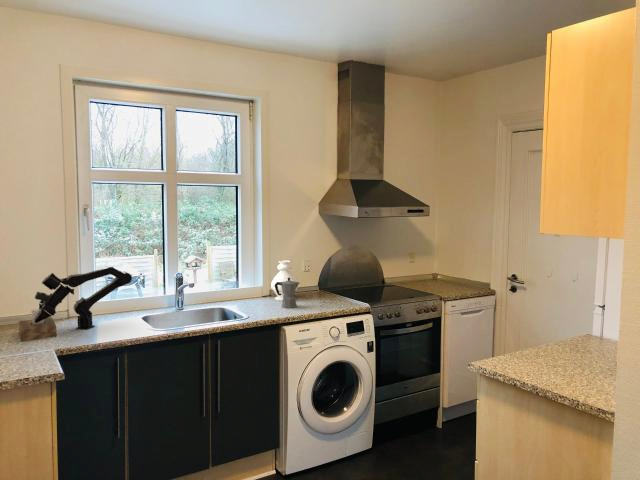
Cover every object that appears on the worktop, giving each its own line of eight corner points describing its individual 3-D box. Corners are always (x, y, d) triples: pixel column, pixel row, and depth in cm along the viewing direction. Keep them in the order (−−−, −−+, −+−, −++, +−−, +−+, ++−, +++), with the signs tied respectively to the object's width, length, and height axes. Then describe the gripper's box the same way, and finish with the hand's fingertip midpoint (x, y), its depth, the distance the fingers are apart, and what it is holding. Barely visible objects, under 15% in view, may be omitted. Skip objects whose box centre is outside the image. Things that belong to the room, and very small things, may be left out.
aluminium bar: (43, 328, 251) (42, 308, 250) (44, 330, 247) (43, 310, 246) (32, 329, 248) (31, 309, 247) (32, 332, 244) (31, 311, 243)
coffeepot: (298, 304, 312) (298, 276, 311) (301, 307, 303) (300, 278, 301) (273, 305, 309) (273, 277, 307) (275, 309, 300) (275, 279, 298)
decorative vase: (274, 295, 340) (273, 259, 338) (300, 296, 339) (299, 259, 336) (268, 301, 323) (268, 262, 321) (296, 301, 321) (295, 263, 319)
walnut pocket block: (52, 327, 260) (52, 317, 259) (56, 336, 243) (56, 325, 243) (18, 331, 252) (18, 321, 251) (20, 341, 235) (20, 330, 235)
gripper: (43, 283, 255) (19, 307, 250) (46, 288, 240) (21, 314, 235) (61, 296, 260) (38, 320, 255) (65, 302, 245) (41, 328, 240)
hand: (34, 320), depth 246 cm, fingers open, 9 cm apart
